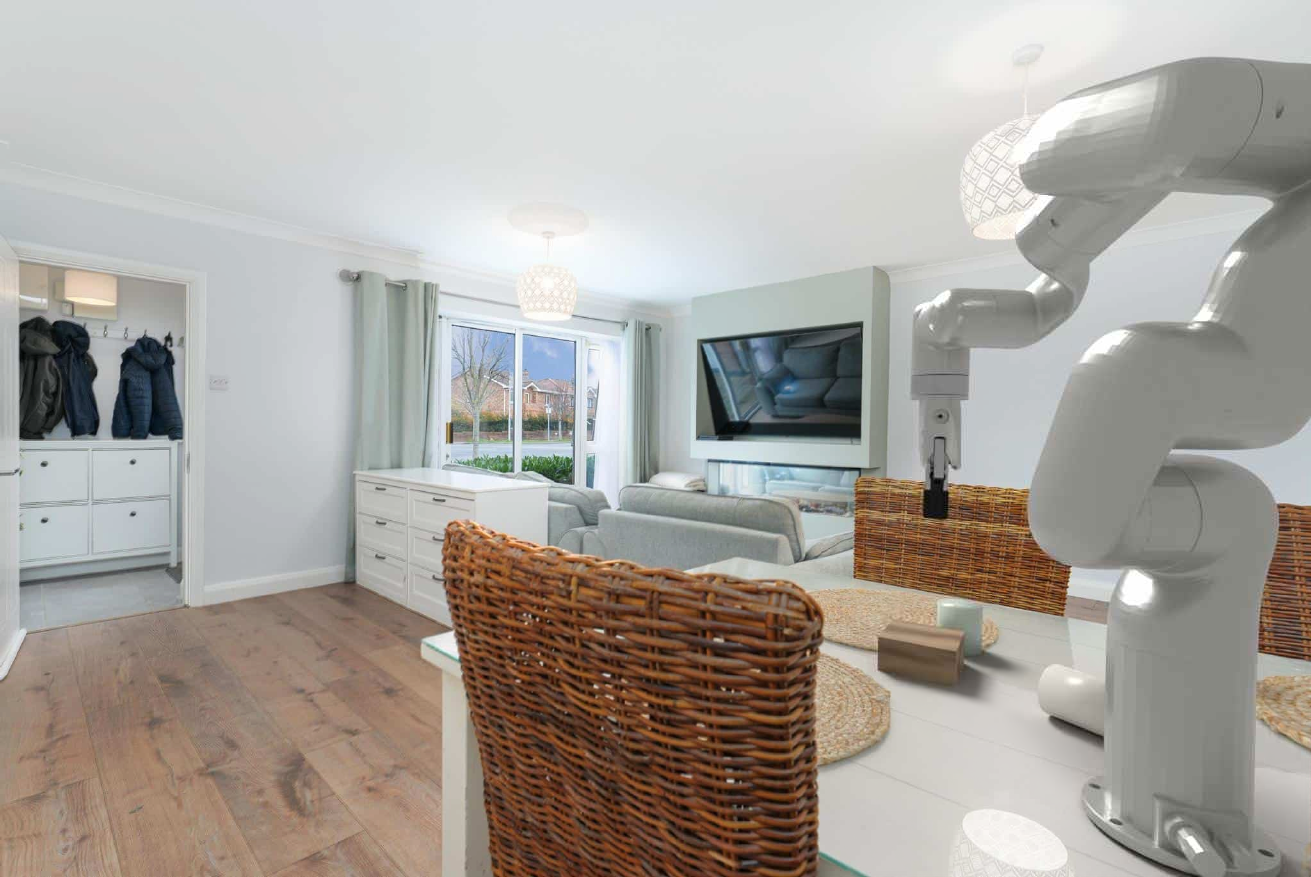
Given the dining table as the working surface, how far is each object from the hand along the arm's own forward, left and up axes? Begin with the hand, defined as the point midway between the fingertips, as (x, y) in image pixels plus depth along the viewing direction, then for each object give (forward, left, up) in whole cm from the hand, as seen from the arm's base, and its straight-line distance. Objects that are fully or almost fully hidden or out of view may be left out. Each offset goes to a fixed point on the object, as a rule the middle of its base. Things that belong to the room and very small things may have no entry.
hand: (935, 517), depth 86 cm
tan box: (0, +1, -22) cm, 22 cm away
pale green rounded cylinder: (+11, -5, -22) cm, 25 cm away
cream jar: (-10, -13, -19) cm, 25 cm away
